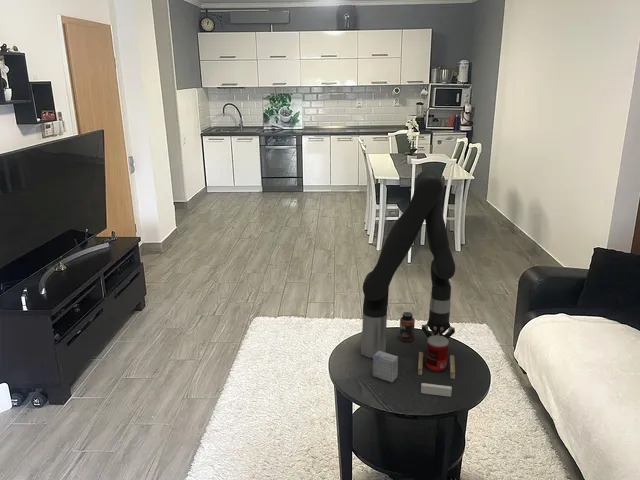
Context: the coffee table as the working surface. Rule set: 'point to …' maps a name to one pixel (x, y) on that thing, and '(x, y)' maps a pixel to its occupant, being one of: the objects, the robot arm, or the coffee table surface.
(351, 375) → the coffee table surface
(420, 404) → the coffee table surface
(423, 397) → the coffee table surface
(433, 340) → the canned food
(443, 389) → the bar
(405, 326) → the supplement bottle
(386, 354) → the medicine box
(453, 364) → the wooden bars
